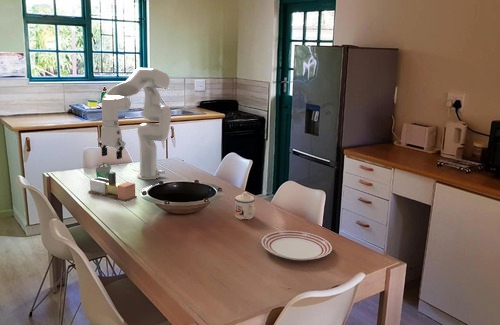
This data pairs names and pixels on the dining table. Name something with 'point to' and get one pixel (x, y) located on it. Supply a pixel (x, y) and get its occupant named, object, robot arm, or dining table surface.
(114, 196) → the base board
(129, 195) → the socket block
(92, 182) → the white rectangular block
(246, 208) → the teacup with lid
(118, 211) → the dining table surface
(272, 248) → the dinner plate
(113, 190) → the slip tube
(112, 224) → the dining table surface
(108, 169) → the food container
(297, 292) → the dining table surface
